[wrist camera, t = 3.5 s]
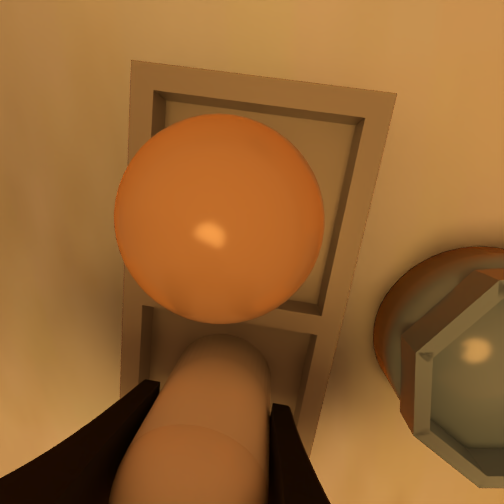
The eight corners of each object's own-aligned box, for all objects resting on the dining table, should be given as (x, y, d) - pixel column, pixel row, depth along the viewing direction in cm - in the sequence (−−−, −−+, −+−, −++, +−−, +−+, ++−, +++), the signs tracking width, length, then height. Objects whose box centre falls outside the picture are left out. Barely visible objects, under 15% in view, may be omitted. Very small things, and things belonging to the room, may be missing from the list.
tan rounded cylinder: (231, 433, 13) (184, 689, 6) (158, 379, 13) (29, 589, 6) (291, 375, 12) (310, 604, 5) (214, 315, 12) (133, 481, 5)
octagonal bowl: (457, 437, 13) (523, 526, 9) (336, 339, 12) (360, 397, 9) (606, 326, 11) (752, 387, 8) (474, 206, 11) (568, 215, 7)
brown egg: (254, 283, 11) (222, 419, 5) (170, 215, 11) (5, 257, 4) (326, 200, 10) (419, 221, 4) (237, 124, 10) (157, -9, 3)
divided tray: (298, 458, 14) (301, 492, 12) (135, 426, 14) (117, 455, 13) (378, 108, 10) (397, 93, 9) (152, 79, 10) (131, 60, 9)
